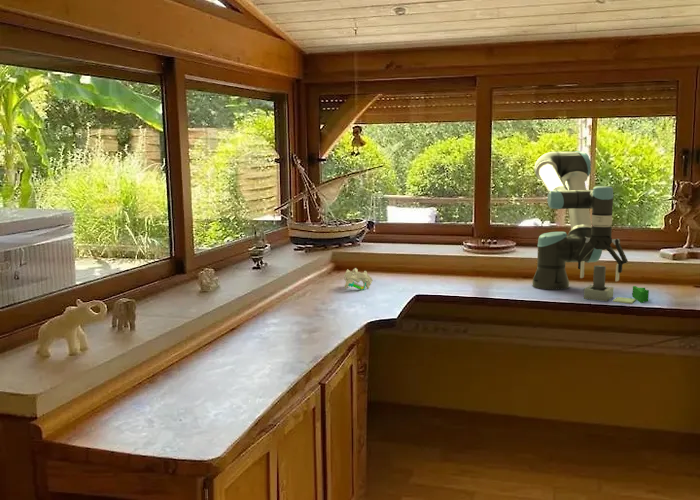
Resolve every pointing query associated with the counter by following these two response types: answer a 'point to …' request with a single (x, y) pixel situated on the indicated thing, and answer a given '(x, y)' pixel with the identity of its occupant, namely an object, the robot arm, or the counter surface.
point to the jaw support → (357, 279)
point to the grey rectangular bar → (599, 277)
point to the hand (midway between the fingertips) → (599, 279)
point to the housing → (598, 293)
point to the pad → (624, 300)
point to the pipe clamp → (640, 294)
